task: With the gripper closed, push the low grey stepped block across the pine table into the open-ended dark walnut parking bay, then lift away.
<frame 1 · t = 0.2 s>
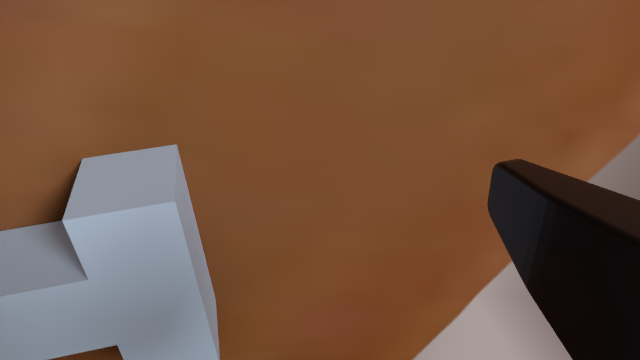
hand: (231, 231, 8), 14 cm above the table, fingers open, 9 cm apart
grey stepped block: (115, 245, 25), on the table
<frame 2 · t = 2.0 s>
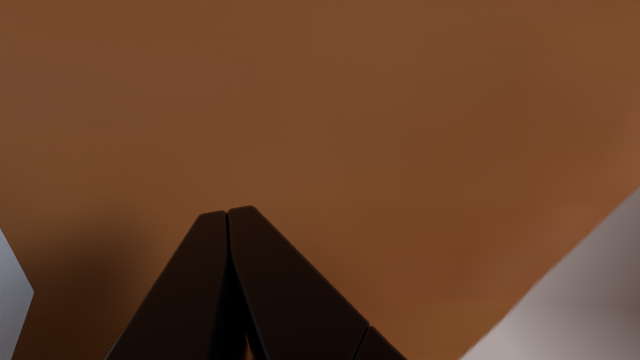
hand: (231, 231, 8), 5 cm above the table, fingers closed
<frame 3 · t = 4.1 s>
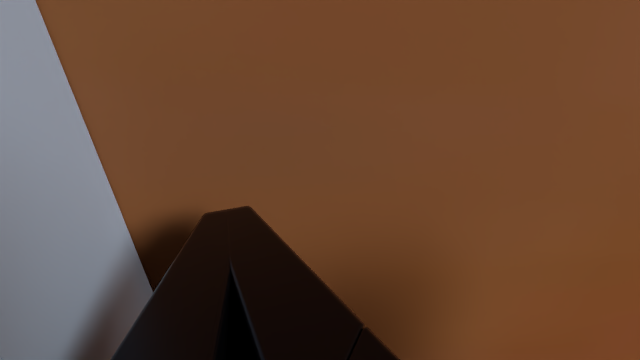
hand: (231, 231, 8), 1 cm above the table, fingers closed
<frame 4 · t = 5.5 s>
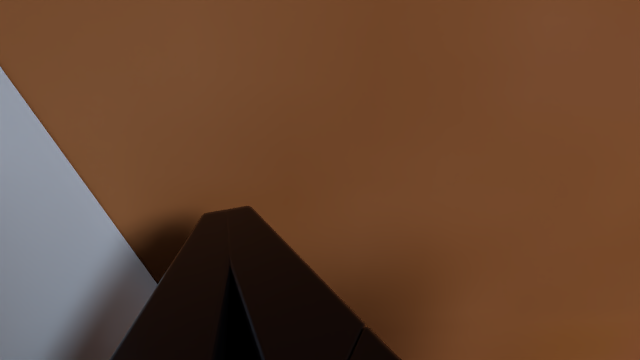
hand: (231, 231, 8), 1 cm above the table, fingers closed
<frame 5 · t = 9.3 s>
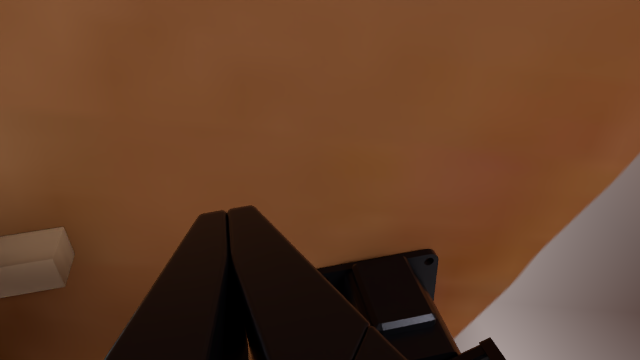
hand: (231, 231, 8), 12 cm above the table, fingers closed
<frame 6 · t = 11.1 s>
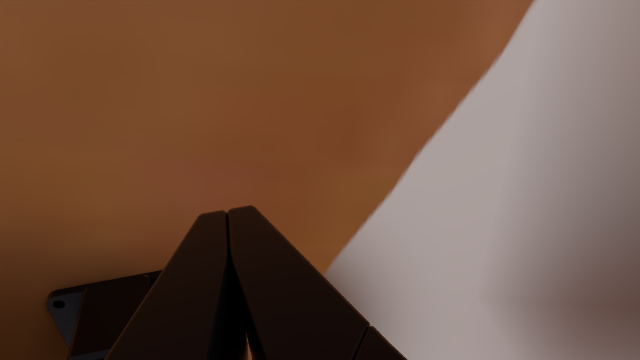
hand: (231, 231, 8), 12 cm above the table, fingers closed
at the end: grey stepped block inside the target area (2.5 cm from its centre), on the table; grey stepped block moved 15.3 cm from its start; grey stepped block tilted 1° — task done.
